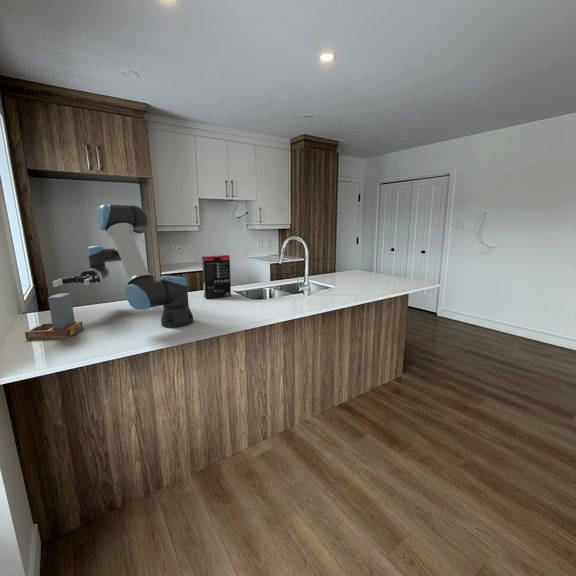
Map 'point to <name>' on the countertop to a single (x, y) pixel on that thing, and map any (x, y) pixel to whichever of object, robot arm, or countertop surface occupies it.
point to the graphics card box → (216, 276)
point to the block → (61, 311)
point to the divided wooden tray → (52, 331)
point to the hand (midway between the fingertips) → (69, 283)
